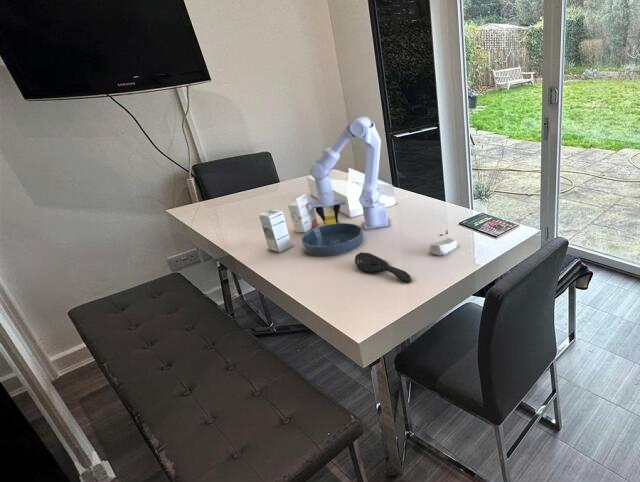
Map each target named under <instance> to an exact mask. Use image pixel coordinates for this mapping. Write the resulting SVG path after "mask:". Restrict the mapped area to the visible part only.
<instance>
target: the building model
mask: <svg viewBox="0 0 640 482" xmlns="http://www.w3.org/2000/svg"><path fill="white" fill-rule="evenodd" d="M347 175H348V177H347V178H346V179H335V178H330V180H331V186H332V191H333V196H334V200H344V199H346V202H347V205H340V210H339V212H340V213H341V214H344V215H346V216H347V217H349V218H354V217H358V216H361V215H364V214H363V208H362V205H361V204H360V202H359V197H360V195H361V194H362V189H363V186H364V180H365V173H363V172H360V171H358V170H356V169H353V168H350V167H348V174H347ZM306 181H307V185H308V189H309V193H310V196H312V197H315V199H317V200H319V198H318V193H317V189H316V184H315V179H314V177H313V176H306ZM378 184H379V190H380V197H379V201H380V203H385V206H386V208H388V207H392V206H394V205H396V199H395V197H396V196H395V191H394V185H392V184H390V183H388V182H385V181H383V180H381V179H378ZM331 207H332V208H333V207H334V206H331Z"/></svg>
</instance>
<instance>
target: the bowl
mask: <svg viewBox="0 0 640 482" xmlns="http://www.w3.org/2000/svg"><path fill="white" fill-rule="evenodd" d="M363 241H364V232H363V229H362V227H361V226H360V225H358V224H354V223H349V222H341V223H340V222H338V223H337V224H330V225H325V224H324V225H322V226H319V227H316V228H312V229H310V230H308V231H306V232H305V234H303V236H302V237H301V244H302V249H303V251H304V252H305V253H306V254H308V255H310V256H315V257H333V256H339V255H342V254H345V253H348V252H351V251H353V250H355V249H357V248H358V247H359V246H360V245H362V243H363Z"/></svg>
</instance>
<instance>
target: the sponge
mask: <svg viewBox="0 0 640 482" xmlns="http://www.w3.org/2000/svg"><path fill="white" fill-rule="evenodd" d="M324 215H325V220H324V222H325V224H324V226H325V225H330V224H337V223H336V220H335V214H334V213H329V214H328V213H327V214H324ZM324 222H323V223H324Z"/></svg>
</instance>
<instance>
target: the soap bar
mask: <svg viewBox="0 0 640 482" xmlns="http://www.w3.org/2000/svg"><path fill="white" fill-rule="evenodd" d="M457 248H458V241H457V240H456V239H453V238H449V237H448V238H444V239H443V240H440V241H436V242H435V243H433V244H430V245H429V251H430V254H432V255H436V256H445V255H447V254H448V253H450V252H452V251H453V250H455V249H457Z"/></svg>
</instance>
